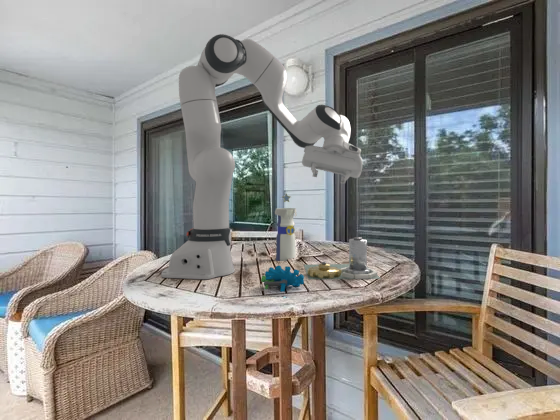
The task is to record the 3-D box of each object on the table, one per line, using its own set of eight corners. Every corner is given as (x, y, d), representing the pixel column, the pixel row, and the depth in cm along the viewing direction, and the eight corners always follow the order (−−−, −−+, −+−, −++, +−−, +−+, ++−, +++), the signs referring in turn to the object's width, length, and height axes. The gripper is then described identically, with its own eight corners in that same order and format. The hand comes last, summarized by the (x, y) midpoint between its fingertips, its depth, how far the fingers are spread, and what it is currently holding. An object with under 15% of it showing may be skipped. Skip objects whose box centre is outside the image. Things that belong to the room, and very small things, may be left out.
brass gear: (308, 278, 91) (308, 265, 91) (306, 270, 101) (306, 259, 101) (343, 278, 91) (343, 265, 91) (337, 270, 101) (337, 258, 101)
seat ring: (343, 278, 91) (343, 275, 91) (337, 270, 101) (337, 267, 101) (380, 278, 91) (380, 274, 91) (370, 269, 101) (370, 266, 101)
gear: (309, 283, 85) (297, 261, 78) (307, 304, 81) (294, 283, 74) (270, 285, 89) (255, 265, 82) (266, 306, 85) (250, 286, 78)
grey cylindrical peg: (347, 277, 92) (347, 239, 92) (343, 271, 100) (343, 236, 99) (373, 277, 92) (373, 239, 92) (367, 271, 100) (367, 236, 99)
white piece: (302, 260, 123) (301, 193, 122) (282, 262, 119) (281, 193, 118) (290, 256, 130) (289, 193, 129) (271, 259, 126) (270, 193, 125)
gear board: (308, 283, 91) (308, 279, 91) (303, 268, 110) (303, 264, 110) (381, 282, 91) (381, 278, 91) (364, 267, 110) (364, 263, 110)
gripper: (307, 137, 115) (299, 165, 106) (365, 150, 113) (361, 179, 105) (304, 150, 120) (296, 178, 111) (360, 163, 118) (356, 192, 110)
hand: (328, 178), depth 108 cm, fingers open, 8 cm apart
